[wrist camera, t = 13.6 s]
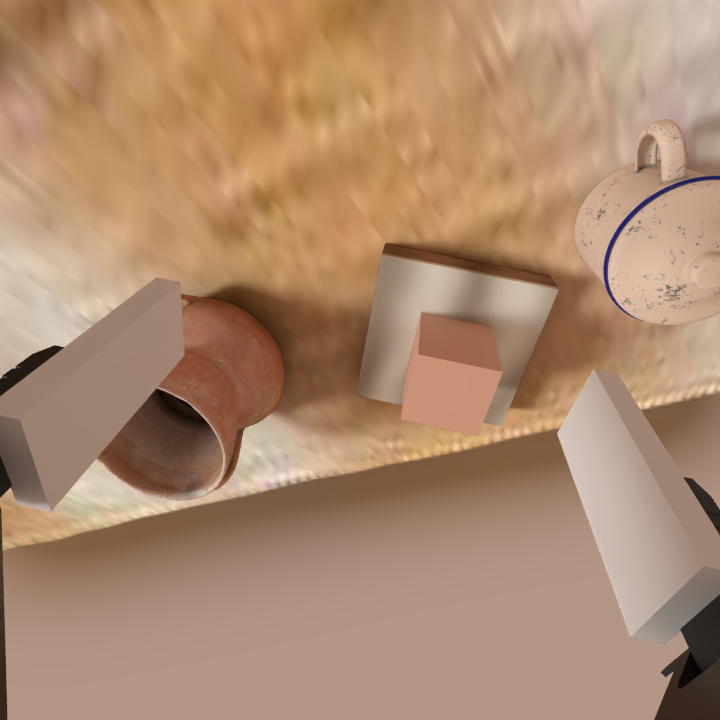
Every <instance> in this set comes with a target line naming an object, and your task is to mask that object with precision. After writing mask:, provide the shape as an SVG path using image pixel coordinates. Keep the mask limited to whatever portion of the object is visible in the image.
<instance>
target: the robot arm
mask: <svg viewBox="0 0 720 720" xmlns="http://www.w3.org/2000/svg"><path fill="white" fill-rule="evenodd" d="M184 355H185V354H184V338H183V322H182V305H181V289H180V282H175V281H170V280H165V279H161V278H155V279H154V280H153V281H151V282H150V283H149V284H147V285H146V286H145V287H143V288H142V289H141V290H139V291H138V292H137V293H135V294H134V295H133V296H132V297H130V298H129V299H128V300H126V301H125V302H124V303H122V304H121V305H120V306H118V307H117V308H116V309H114V310H113V311H112V312H111V313H109V314H108V315H107V316H105V317H104V318H103V319H101V320H100V321H99V322H97V323H96V324H95V325H93V326H92V327H91V328H89V329H88V330H87V331H86V332H84V333H83V334H82V335H80V336H79V337H78V338H76V339H75V340H74V341H72V342H71V343H70V344H68V345H67V346H66V347H60V346H55V345H54V346H52V347H49V348H47V349H44V350H42V351H39V352H37V353H34V354H32V355H31V356H29V357H28V358H26V359H25V360H24V361H22V362H21V363H19V364H18V365H17V366H16V368H15V369H11V370H10V371H8V372H7V373H6V374H4V375H3V376H2V378H1V379H0V497H1V496H2V495H3V494H4V493H5V492H6V491H7V490H8V489H9V488H10V487H11V489H12V491H13V494H14V496H15V499H16V501H17V504H18V505H23V506H27V507H32V508H37V509H41V510H46V511H50V512H51V511H52V510H53V509H54V507H55V506H56V505H57V504H58V503H59V502H60V500H61V499H62V498H63V497H64V496H65V495H66V493H67V492H68V491H69V490H70V489H71V488H72V486H73V485H74V484H75V483H76V482H77V481H78V479H79V478H80V477H81V476H82V475H83V473H84V472H85V471H86V470H87V469H88V468H89V466H90V465H91V464H92V463H93V462H94V461H95V459H96V458H97V457H98V456H99V455H100V454H101V452H102V451H103V450H104V449H105V448H106V447H107V445H108V444H109V443H110V442H111V441H112V440H113V438H114V437H115V436H116V435H117V434H118V433H119V431H120V430H121V429H122V428H123V427H124V426H125V424H126V423H127V422H128V421H129V420H130V418H131V417H132V416H133V415H134V414H135V413H136V411H137V410H138V409H139V408H140V407H141V406H142V404H143V403H144V402H145V401H146V400H147V399H148V397H149V396H150V395H151V394H152V393H153V392H154V390H155V389H156V388H157V387H158V386H159V385H160V383H161V382H162V381H163V380H164V379H165V378H166V376H167V375H168V374H169V373H170V372H171V370H172V369H173V368H174V367H175V366H176V365H177V363H178V362H179V361H180V360H181V359H182V358H183V356H184ZM557 434H558V437H559V440H560V443H561V445H562V448H563V451H564V454H565V456H566V459H567V462H568V465H569V468H570V471H571V473H572V476H573V479H574V482H575V484H576V487H577V490H578V493H579V495H580V498H581V501H582V504H583V507H584V509H585V512H586V515H587V518H588V521H589V523H590V526H591V529H592V532H593V534H594V537H595V540H596V543H597V546H598V548H599V551H600V554H601V557H602V559H603V562H604V565H605V568H606V571H607V573H608V576H609V579H610V581H611V584H612V587H613V590H614V593H615V596H616V598H617V601H618V604H619V607H620V609H621V612H622V615H623V618H624V621H625V623H626V626H627V629H628V632H629V634H630V637H632V638H637V639H641V640H646V641H651V642H655V643H660V644H664V645H665V644H666V643H667V642H668V641H670V640H671V639H672V638H673V637H674V636H675V635H677V634H678V633H679V632H680V631H682V634H683V636H684V638H685V640H686V643H687V645H688V647H689V648H688V649H687V650H686V651H685V652H684V653H682V654H681V655H680V656H679V657H678V658H676V659H675V660H674V661H673V662H672V663H670V664H669V665H668V666H667V667H666V668H665V669H664V670H663V671H662V672H661V673H662V674H663V675H664V676H665V677H667V676H668V675H669V674H670V673H672V672H673V675H672V677H671V680H670V682H669V685H668V687H667V690H666V692H665V694H664V697H663V699H662V702H661V705H660V707H659V709H658V712H657V714H656V717H655V719H654V720H720V510H719V508H718V506H717V505H716V503H715V502H714V500H713V499H712V497H711V496H710V495H709V494H708V493H707V492H706V491H705V490H704V489H702V488H701V487H700V486H699V485H698V484H697V483H696V482H695V481H694V480H693V479H690V478H686V477H683V476H682V475H681V473H680V471H679V470H678V468H677V467H676V465H675V464H674V462H673V460H672V459H671V457H670V456H669V454H668V453H667V451H666V449H665V448H664V446H663V445H662V443H661V441H660V440H659V438H658V437H657V435H656V434H655V432H654V430H653V429H652V427H651V425H650V424H649V423H648V421H647V419H646V418H645V416H644V415H643V413H642V411H641V410H640V408H639V406H638V405H637V403H636V402H635V400H634V399H633V397H632V395H631V394H630V392H629V391H628V389H627V387H626V386H625V384H624V383H623V381H622V380H621V378H620V376H619V375H618V374H616V373H612V372H607V371H602V370H597V369H593V370H592V372H591V374H590V376H589V378H588V379H587V381H586V383H585V385H584V387H583V388H582V390H581V392H580V394H579V396H578V397H577V399H576V401H575V403H574V405H573V406H572V408H571V410H570V412H569V414H568V415H567V417H566V419H565V421H564V423H563V424H562V426H561V428H560V430H559V432H558V433H557ZM2 555H3V554H2V519H1V508H0V720H7V692H6V655H5V623H4V622H5V621H4V588H3V556H2Z"/></svg>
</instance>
